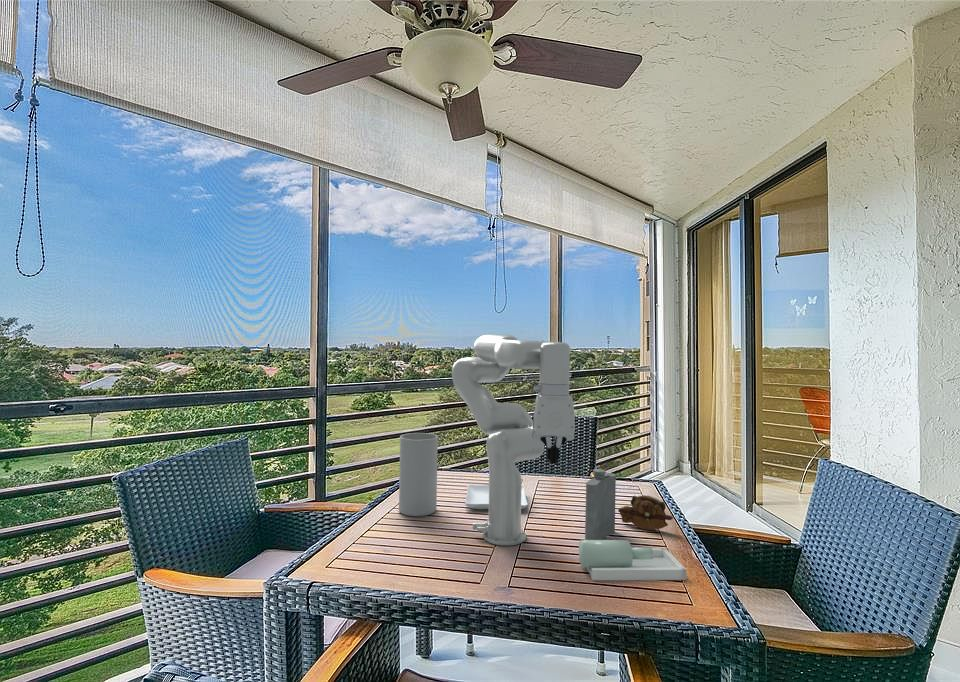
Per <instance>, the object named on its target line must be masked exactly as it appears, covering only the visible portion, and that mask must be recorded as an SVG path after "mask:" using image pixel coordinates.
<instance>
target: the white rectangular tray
mask: <svg viewBox="0 0 960 682" xmlns="http://www.w3.org/2000/svg"><path fill="white" fill-rule="evenodd" d="M651 548H652V549H653V553H654V557H653V559H633V561H632V566H631V567H585V568H586V570H587V572H588V573H589V575H590V577H591V580H592V581H686V580H687V574H688V573H687V571H688V570H687V568H686V567H685V566H684V565H683V564H682V563H681V562H680V561H678V559H676V558H675V556H674V555H673V554H672V553H671V552H670V551H669V550H668V549H667V548H666V547H651Z"/></svg>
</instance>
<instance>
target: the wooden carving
mask: <svg viewBox="0 0 960 682" xmlns="http://www.w3.org/2000/svg"><path fill="white" fill-rule="evenodd" d="M630 504H631V506H630V505H629V506H628V505H625V506H622V507H620V508H618V513H619V514H620V516H621V521H622V522H623V523H624V524H625V523H626V524H629V523H631V524H633V525H634V526H635V527H637V528H640V529H642V530H649V531H655V530H661V529H663V528H665V527H668V526H669V524H668V523H667V521H672V520H673V519H675V517H674V516H673V515H668V514H666V513H665V510H666V503H665V501H663V500H659V499H658V498H656V497H654V496H651V495H639V496H637V495H633V496H632V498H631V500H630ZM666 520H667V521H666Z"/></svg>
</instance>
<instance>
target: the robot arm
mask: <svg viewBox="0 0 960 682" xmlns="http://www.w3.org/2000/svg"><path fill="white" fill-rule="evenodd" d="M473 351H474V353H475V356H468V357H462V358H459V359H457V360H456V361H454V363H453V365H452V368H451V377H452V383H453V386H454V388H455V391H456V392H457V394H458V395H459V397H461V399H462V400H463V401H464V402H465V404H466V405H467V407H468V409H469V411H470V413H471V415H472V416H473V418H474V420H475V423H476V424H477V425H478V427H479V429H480V430H481V432H482V433H484V434H485V435H488V437H487V439H486V442H485V447H486V455H487V461H488V471H489V472H488V479H489V480H488V485H489V510H488V518H486V521H483V522H472V530H476V532H477V533H481V532H482V538H483V540H485V541H486V542H487V543H488V544H489V543H490V544H491V545H497V546H515V545H519V544H522V543H524V542H525V541H526V539H527V533H526V532H525V531H524V530H522V523H521V521H522V509H521V487H523V486H522V481H523V480H522V475H521V473H520V470H519V469H518V467H517V466H516V463H517V462H522V461H530V460H531V461H532V460H535V459H538V458H539V457H541V456H542V455H543V453H544V451H545V446H546V460H547V461H548V462H549V465H550V464H551V465H553V464H554V465H557V464H558V461H559V460H560V449H561V447H562V446H563V445H564V444H565V443H566V442H568V441H572V440H573V441H574V440H575V431H576V422H575V421H576V419H575V406H574V400H573V396H572V395H570V372H571V371H570V365H571V364H570V363H571V362H570V361H571V360H570V359H571V356H570V355H571V348H570V345H569V343H567V342H561V341H560V342H559V341H548V340H518V338H517V337H516V336H515V335H512V334H494V333H493V334H491V333H489V334H483V335H480V336H479V337H478V338H477V339H476V340H475V341H474V344H473ZM511 369H512V370H539V382H538V385H533V392H537V393H538V394H537V395H536V398H535V401H534V409H533V419H532V416H531V415H530V414H529V412H528V410H526V408H525V407H524V406H522V405H521V404H519V403H515V402H504V403H503V402H498V401H497V400H496V399H495V397H494V395H493V393H492V392H491V391H490V390H489V389H487V388H486V387H485V386H483V385H481V383H497V382H500V381H501V380H503V379H504V378H505V376H507V374H508V373H509V371H510V370H511ZM552 437H555V438H554V441H553V442H554V443H553V444H552Z"/></svg>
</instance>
